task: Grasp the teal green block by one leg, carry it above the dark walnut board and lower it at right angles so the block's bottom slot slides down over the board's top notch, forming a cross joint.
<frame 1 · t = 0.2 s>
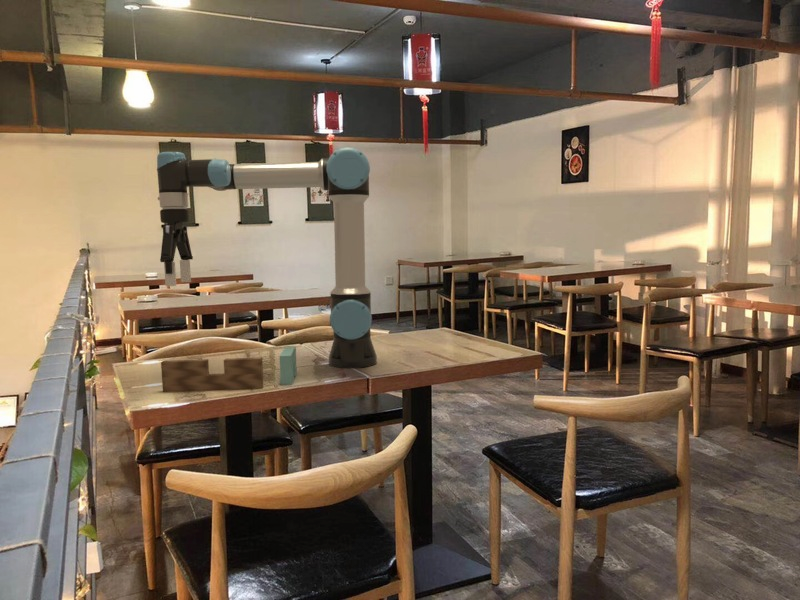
hand: (178, 284, 177), 27 cm above the table, fingers open, 13 cm apart
walnut board: (213, 389, 166), on the table
teal green block: (289, 378, 176), on the table
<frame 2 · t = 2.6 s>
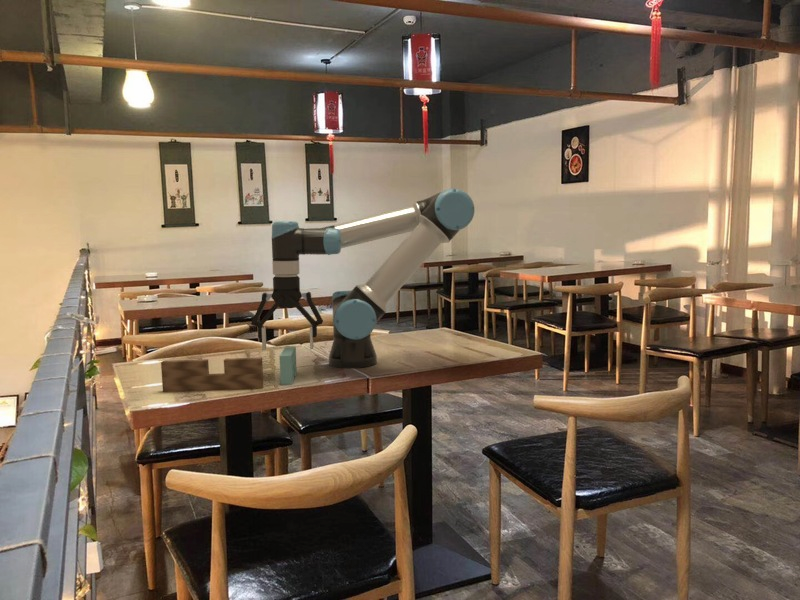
hand: (288, 349, 180), 8 cm above the table, fingers open, 13 cm apart
nothing on the table moved.
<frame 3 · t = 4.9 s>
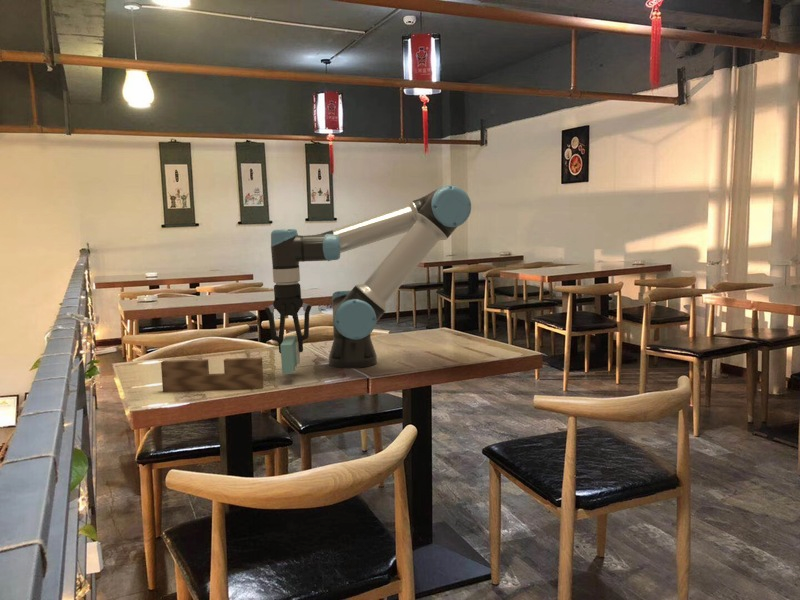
hand: (292, 363, 180), 3 cm above the table, fingers closed on teal green block, 3 cm apart
teal green block: (290, 368, 176), point 3 cm above the table, touching gripper
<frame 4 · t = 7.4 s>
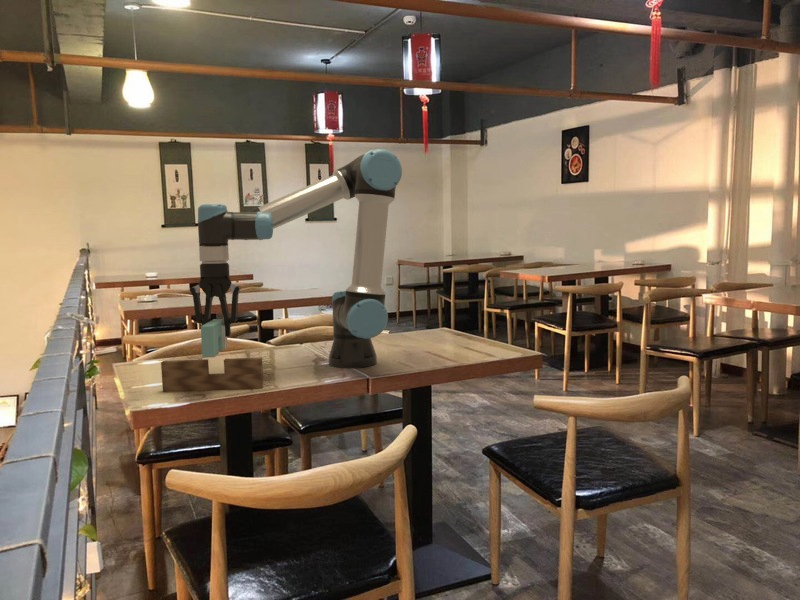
hand: (218, 348, 169), 10 cm above the table, fingers closed on teal green block, 3 cm apart
teal green block: (214, 352, 165), point 10 cm above the table, touching gripper
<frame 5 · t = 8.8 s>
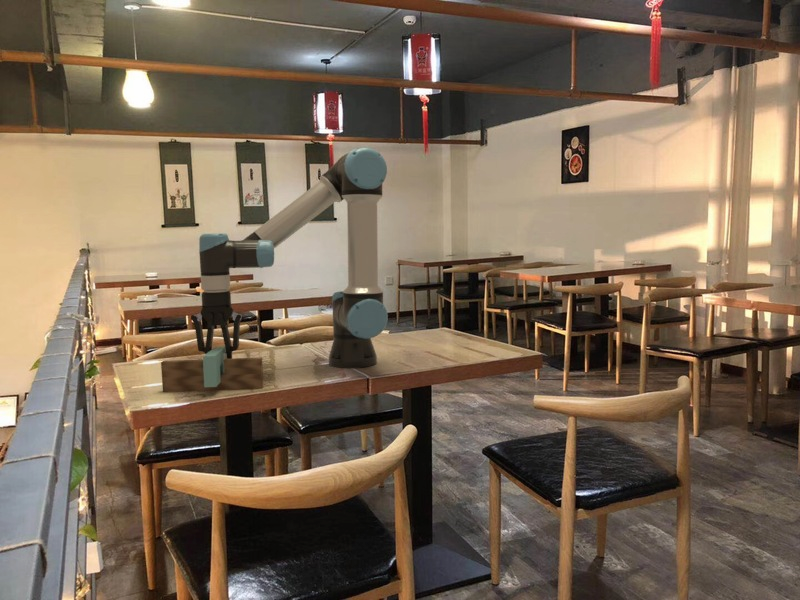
hand: (219, 375, 170), 3 cm above the table, fingers closed on teal green block, 3 cm apart
teal green block: (216, 380, 166), point 2 cm above the table, touching gripper
when the fingers open (0 cm above the table, at t = 9.7 s): teal green block stays where it is, on the table.
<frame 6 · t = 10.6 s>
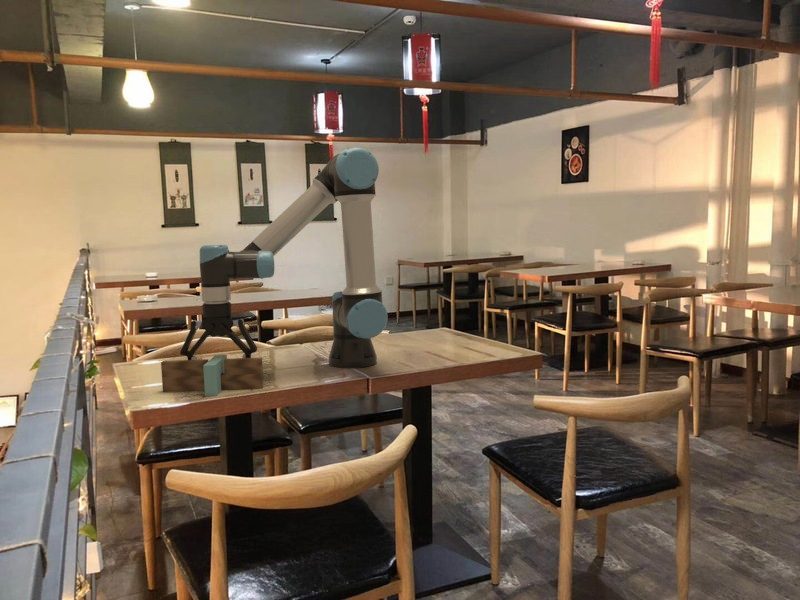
hand: (220, 379, 170), 2 cm above the table, fingers open, 13 cm apart
teal green block: (217, 389, 166), on the table
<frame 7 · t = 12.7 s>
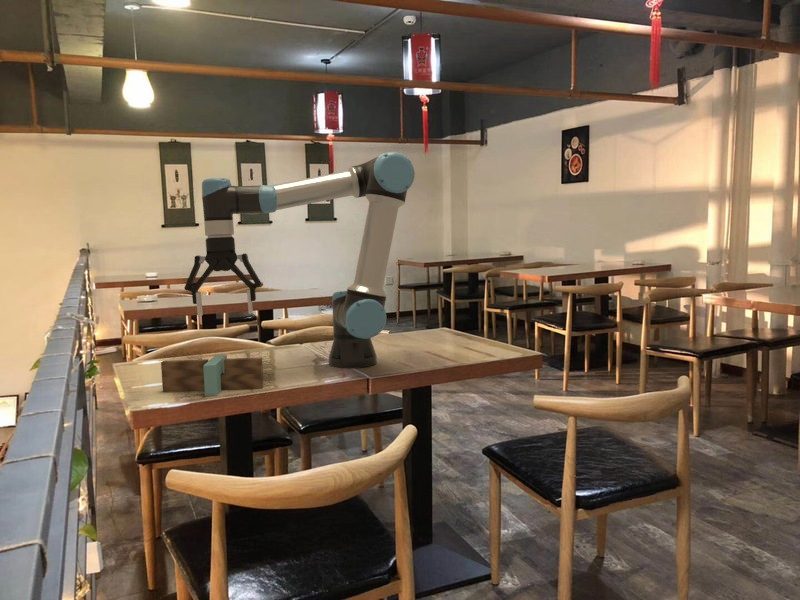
hand: (225, 314, 170), 19 cm above the table, fingers open, 13 cm apart
nothing on the table moved.
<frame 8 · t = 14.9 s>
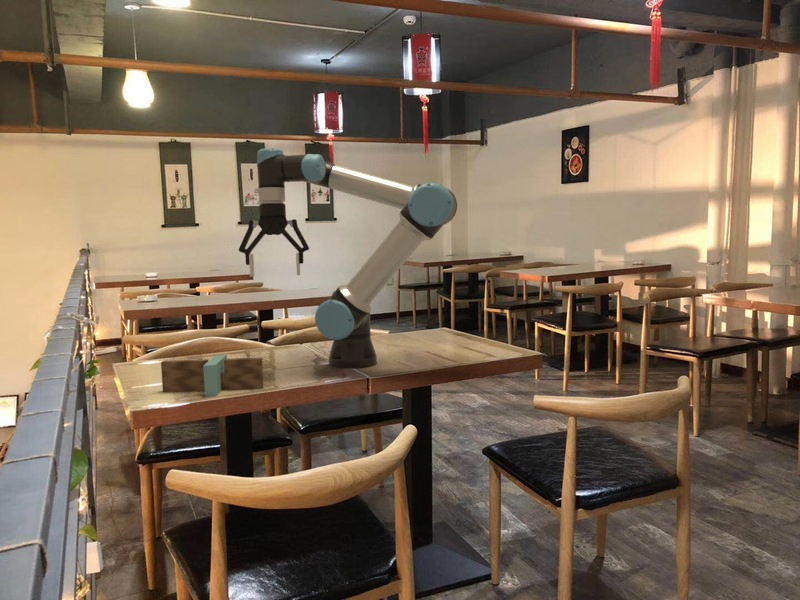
hand: (275, 275, 184), 29 cm above the table, fingers open, 13 cm apart
nothing on the table moved.
at the end: teal green block 0.1 cm off-centre on the walnut board, point 0.0 cm above the walnut board's base; teal green block tilted 0°; the gripper is holding nothing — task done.
